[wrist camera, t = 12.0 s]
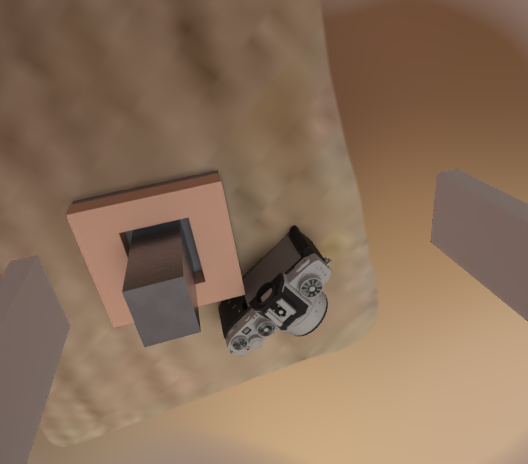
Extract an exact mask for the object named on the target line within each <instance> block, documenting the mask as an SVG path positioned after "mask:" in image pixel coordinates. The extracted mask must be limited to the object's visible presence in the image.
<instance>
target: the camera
mask: <svg viewBox="0 0 528 464" xmlns="http://www.w3.org/2000/svg"><path fill="white" fill-rule="evenodd" d="M325 260H326V261H325ZM331 263H332V261H331V260H330V259H327V258H326V257H325V258H323V257H322V255H321V254H320V252H319V251H318V250H317V248H316V247H315V245H314V244H313V242H312V241H311V240H310V239H309V238H307V237H306V236H305V235H304V234H303V233H302V232H300V231H299V229H298V228H297V226H293V227H292V228H291V229H290V232H289V233H288V234H287V235H286V236H285V237H284V238H283V239H282V240H281V241H280V242H279V243H278V244H277V245H276V246H275V247H274V248H272V249H271V250H270V251H269V252H268V253H267V254H266V255H265V256H264V257H263V258H262V259H261V260H260V261H259V262H258V263H257V264H256V265H255V266H254V267H253V268H252V269H251V270H250V271H249V272H248V273H246V274H245V275H244V276H243V277H242V281H243V286H244V290H245V295H242V296H238V297H234V298H230V299H226V300H222V301H220V302H219V305H218V306H219V314H220V319H221V324H222V330H223V335H224V338H225V339H226V343H227V348H228V349H230V352H231V354H234V353H236V354H238V355H239V356H243V355H245V354H247V353H249V352H251V351H252V350H253V349H255V348H259V347H261V346H262V344H263V340H264V339H266V338H267V337H268V336H271V335H272V334H273V333H274V332H275V329H278V330H279V331H280V332H283V333H284V332H289V333H290V334H292V335H295V336H305V335H307V334H309V333H311V332H312V331H314V330H315V329H316V328H317V327H318V326H319V325H320V323H321V322H322V320H323V319H324V317H325V314H326V312H327V307H328V302H327V298H326V295H325V294H324V293H323V292H322V290H323V285H324V284H325V283H326V282H327V281H328V279H329V278H330V276H331V274H332V271H331V269H330V268H329V265H330V264H331Z"/></svg>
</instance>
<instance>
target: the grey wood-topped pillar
mask: <svg viewBox="0 0 528 464" xmlns="http://www.w3.org/2000/svg"><path fill="white" fill-rule="evenodd" d="M122 294H123V296H124V298H125V301H126V303H127V306H128V308H129V311H130V313H131V316H132V318H133V320H134V323H135V325H136V328H137V330H138V333H139V335H140V338H141V340H142V342H143V345H144V347H147V346H151V345H154V344H158V343H162V342H165V341H169V340H173V339H176V338H180V337H184V336H187V335H191V334H195V333H198V332H201V329H200V320H199V311H198V302H197V293H196V284H195V275H194V266H193V261H192V258H191V255H190V251H189V248H188V244H187V241H186V237H185V234H184V231H183V227H182V224H181V220H180V219H179V220H175V221H170V222H166V223H161V224H157V225H153V226H148V227H144V228H139V229H135V230H133V233H132V239H131V245H130V250H129V256H128V261H127V267H126V272H125V278H124V284H123V289H122Z"/></svg>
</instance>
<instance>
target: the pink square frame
mask: <svg viewBox="0 0 528 464" xmlns="http://www.w3.org/2000/svg"><path fill="white" fill-rule="evenodd" d="M66 217H67V219H68V221H69V224H70V226H71V229H72V231H73V233H74V236H75V238H76V240H77V243H78V245H79V247H80V250H81V252H82V254H83V257H84V259H85V262H86V264H87V266H88V269H89V271H90V273H91V276H92V278H93V280H94V283H95V285H96V287H97V290H98V292H99V294H100V297H101V299H102V302H103V304H104V306H105V309H106V311H107V313H108V316H109V318H110V320H111V323H112V325H113V327H114V328H116V327H120V326H124V325H128V324H132V323H134V320H133V318H132V316H131V313H130V311H129V308H128V306H127V303H126V301H125V298H124V296H123V294H122V289H123V284H124V278H125V272H126V267H127V261H128V256H129V250H130V245H131V239H132V233H133V230H135V229H139V228H144V227H148V226H153V225H157V224H161V223H166V222H170V221H175V220H179V219H180V220H181V224H182V227H183V231H184V234H185V237H186V241H187V244H188V248H189V251H190V255H191V258H192V261H193V266H194V275H195V284H196V293H197V302H198V306H202V305H206V304H210V303H214V302H218V301H222V300H226V299H230V298H234V297H238V296H242V295H245V290H244V286H243V281H242V276H241V271H240V267H239V262H238V257H237V253H236V248H235V243H234V238H233V234H232V229H231V224H230V220H229V215H228V210H227V206H226V201H225V196H224V191H223V187H222V182H221V179H220V176H219V174H218V171H214V172H210V173H205V174H200V175H196V176H191V177H186V178H182V179H177V180H172V181H168V182H163V183H158V184H154V185H149V186H144V187H140V188H135V189H130V190H126V191H121V192H116V193H112V194H107V195H102V196H98V197H93V198H88V199H84V200H79V201H74V202H73V203H72V205H71V207H70V209H69V210H68V212H67V214H66Z"/></svg>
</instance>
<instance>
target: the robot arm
mask: <svg viewBox="0 0 528 464" xmlns="http://www.w3.org/2000/svg"><path fill="white" fill-rule="evenodd" d="M431 243H432V244H434V245H435V246H436V247H437V248H439V249H440V250H441V251H442V252H443V253H445V254H446V255H447V256H449V257H450V258H451V259H452V260H453V261H455V262H456V263H457V264H458V265H459V266H461V267H462V268H463V269H464V270H466V271H467V272H468V273H469V274H470V275H472V276H473V277H474V278H475V279H476V280H478V281H479V282H480V283H481V284H483V285H484V286H485V287H487V288H488V289H489V290H490V291H491V292H492V293H494V294H495V295H496V296H497V297H499V298H500V299H501V300H502V301H503V302H505V303H506V304H507V305H508V306H510V307H511V308H512V309H513V310H514V311H516V312H517V313H518V314H519V315H521V316H522V317H523V318H524V319H525V320H527V321H528V204H527V203H525V202H523V201H521V200H519V199H517V198H515V197H513V196H511V195H509V194H507V193H505V192H503V191H501V190H499V189H497V188H495V187H492V186H490V185H488V184H486V183H484V182H482V181H480V180H478V179H476V178H474V177H472V176H470V175H468V174H466V173H464V172H462V171H460V170H458V169H455V170H450V171H445V172H441V173H437V177H436V188H435V198H434V209H433V220H432V230H431ZM69 327H70V324H69V321H68V319H67V317H66V315H65V313H64V311H63V309H62V307H61V304H60V302H59V300H58V298H57V296H56V294H55V292H54V289H53V287H52V285H51V283H50V281H49V279H48V277H47V274H46V272H45V270H44V268H43V266H42V264H41V262H40V259H39V257H38V256H33V257H28V258H23V259H19V260H14V261H10V263H9V265H8V266H7V268H6V269H5V271H4V272H3V274H2V275H1V277H0V464H27V462H28V458H29V455H30V452H31V449H32V446H33V442H34V439H35V436H36V433H37V429H38V426H39V423H40V420H41V417H42V414H43V411H44V407H45V404H46V401H47V398H48V395H49V391H50V388H51V385H52V382H53V379H54V375H55V372H56V369H57V366H58V363H59V359H60V356H61V353H62V350H63V347H64V343H65V340H66V337H67V334H68V331H69Z"/></svg>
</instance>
